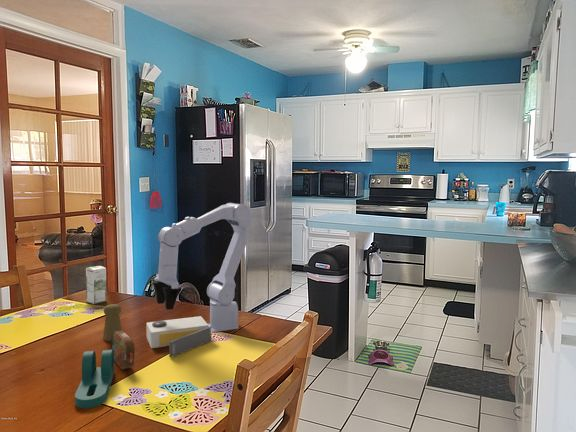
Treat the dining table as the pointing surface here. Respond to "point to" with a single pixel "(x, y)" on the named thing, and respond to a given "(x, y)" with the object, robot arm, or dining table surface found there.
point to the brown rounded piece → (123, 349)
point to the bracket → (95, 379)
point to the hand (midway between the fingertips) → (165, 306)
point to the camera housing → (172, 330)
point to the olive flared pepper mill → (111, 320)
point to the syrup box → (96, 284)
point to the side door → (189, 341)
